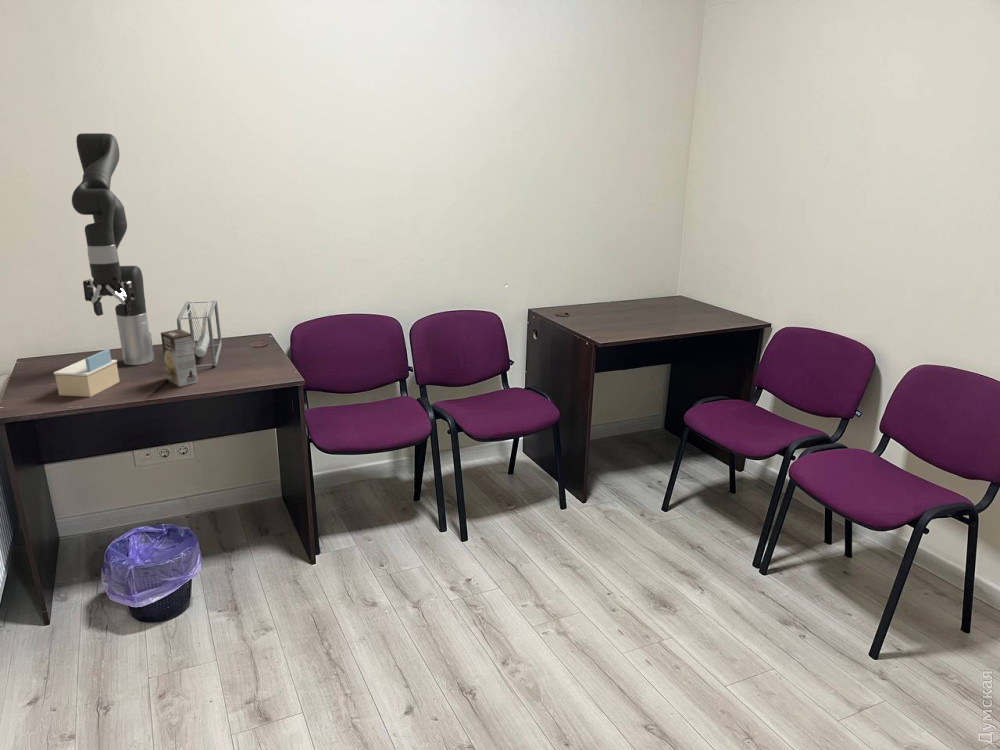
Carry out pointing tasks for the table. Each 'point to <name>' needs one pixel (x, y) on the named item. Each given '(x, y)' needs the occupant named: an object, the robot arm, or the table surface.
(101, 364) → the lid
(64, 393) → the storage box
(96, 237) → the robot arm
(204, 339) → the newton's cradle
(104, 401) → the table surface
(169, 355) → the coffee box
